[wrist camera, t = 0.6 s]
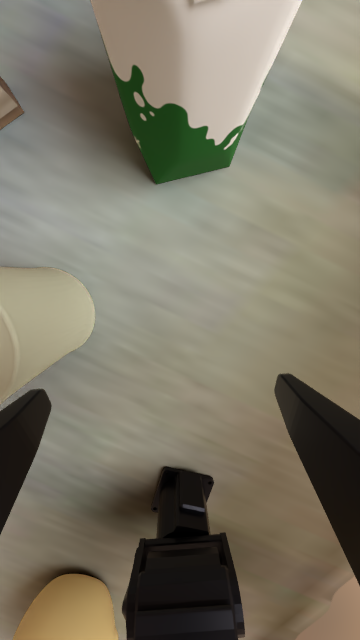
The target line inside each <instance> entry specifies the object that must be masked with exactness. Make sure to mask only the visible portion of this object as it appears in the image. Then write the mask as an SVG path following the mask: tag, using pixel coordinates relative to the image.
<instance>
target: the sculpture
mask: <svg viewBox="0 0 360 640" xmlns="http://www.w3.org/2000/svg"><path fill="white" fill-rule="evenodd" d="M13 640H118V633H117V630H116V627H115V621H114V611H113V604H112V600H111V596H110V593H109V591H108V589H107V587H106V585H105V584H104V583H103V582H101V581H100V580H98V579H96V578H94V577H90V576H87V575H82V574H65V575H62V576H59V577H57V578H55V579H53V580H52V581H51V582H50V583H49V584H47V585H46V586H45V587H44V588H43V590H42V591H41V592H40V593H39V594H38V595H37V597H36V598H35V599H34V601H33V602H32V604H31V605H30V607H29V608H28V610H27V611H26V613H25V615H24V617H23V618H22V620H21V622H20V624H19V626H18V628H17V630H16V632H15V635H14V637H13Z"/></svg>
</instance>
